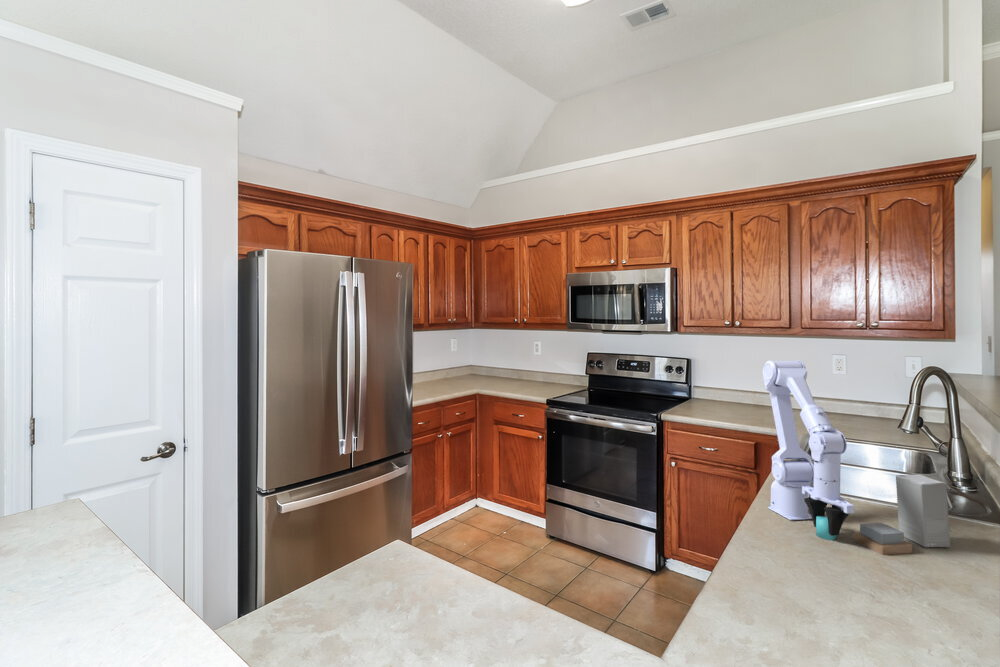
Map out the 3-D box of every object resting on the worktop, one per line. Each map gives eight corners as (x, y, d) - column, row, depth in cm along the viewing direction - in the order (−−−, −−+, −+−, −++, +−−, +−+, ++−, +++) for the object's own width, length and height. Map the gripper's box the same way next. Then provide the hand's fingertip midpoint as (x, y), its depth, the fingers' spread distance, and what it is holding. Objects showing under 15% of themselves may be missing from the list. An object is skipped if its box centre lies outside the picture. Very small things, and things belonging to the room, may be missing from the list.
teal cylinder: (811, 533, 129) (812, 516, 128) (826, 532, 129) (827, 515, 129) (825, 540, 124) (825, 522, 124) (840, 539, 125) (841, 521, 125)
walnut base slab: (853, 542, 124) (853, 532, 124) (881, 540, 126) (881, 530, 126) (882, 557, 117) (882, 546, 117) (911, 554, 118) (911, 544, 118)
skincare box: (950, 548, 120) (952, 483, 119) (920, 548, 120) (922, 483, 119) (921, 533, 128) (922, 473, 128) (893, 533, 128) (894, 472, 128)
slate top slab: (860, 533, 124) (860, 523, 123) (881, 532, 124) (881, 522, 124) (881, 544, 118) (882, 534, 118) (903, 542, 118) (903, 532, 118)
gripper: (791, 470, 133) (791, 520, 133) (836, 488, 119) (835, 544, 119) (815, 469, 134) (814, 518, 134) (862, 486, 120) (861, 542, 120)
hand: (826, 530), depth 127 cm, fingers closed on teal cylinder, 4 cm apart
